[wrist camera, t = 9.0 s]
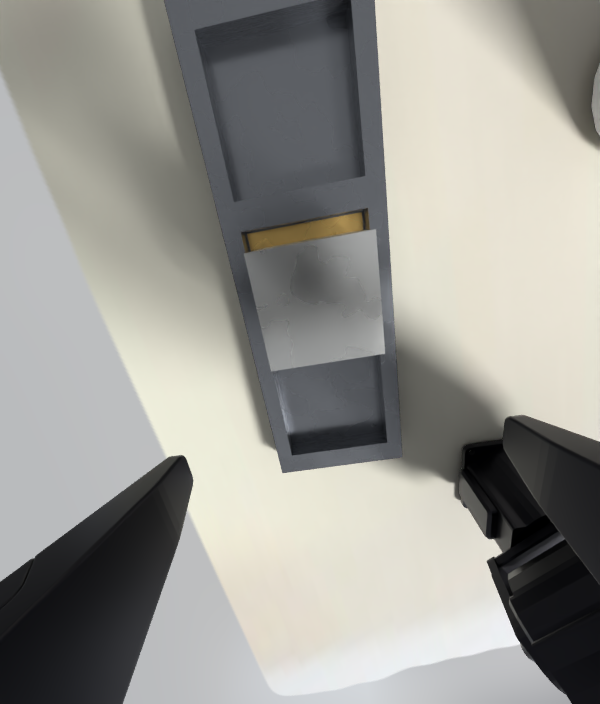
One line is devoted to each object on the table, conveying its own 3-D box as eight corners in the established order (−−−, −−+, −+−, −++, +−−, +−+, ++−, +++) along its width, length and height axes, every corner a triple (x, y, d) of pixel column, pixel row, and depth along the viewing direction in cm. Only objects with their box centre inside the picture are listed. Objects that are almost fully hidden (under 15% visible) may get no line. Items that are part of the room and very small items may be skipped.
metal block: (348, 232, 17) (375, 229, 11) (356, 314, 19) (385, 353, 13) (265, 247, 18) (243, 253, 11) (281, 326, 19) (270, 371, 13)
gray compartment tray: (361, -24, 14) (370, -64, 12) (394, 439, 24) (402, 457, 22) (179, 21, 15) (161, -11, 13) (284, 454, 24) (282, 473, 22)
